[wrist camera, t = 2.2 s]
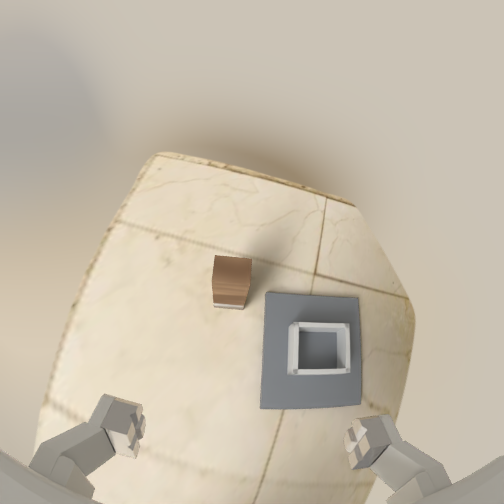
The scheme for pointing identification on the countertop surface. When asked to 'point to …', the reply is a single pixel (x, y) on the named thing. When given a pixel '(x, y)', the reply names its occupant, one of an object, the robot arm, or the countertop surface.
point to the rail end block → (231, 281)
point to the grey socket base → (310, 352)
